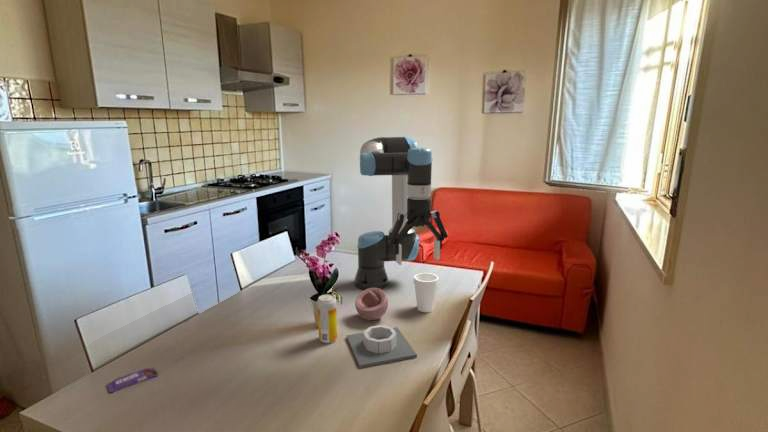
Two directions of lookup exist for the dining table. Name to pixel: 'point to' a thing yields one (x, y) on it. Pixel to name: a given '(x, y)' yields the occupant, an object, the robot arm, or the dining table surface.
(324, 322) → the beer can
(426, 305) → the foam cup
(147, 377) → the snack package
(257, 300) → the dining table surface
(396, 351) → the socket
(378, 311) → the mortar and pestle
